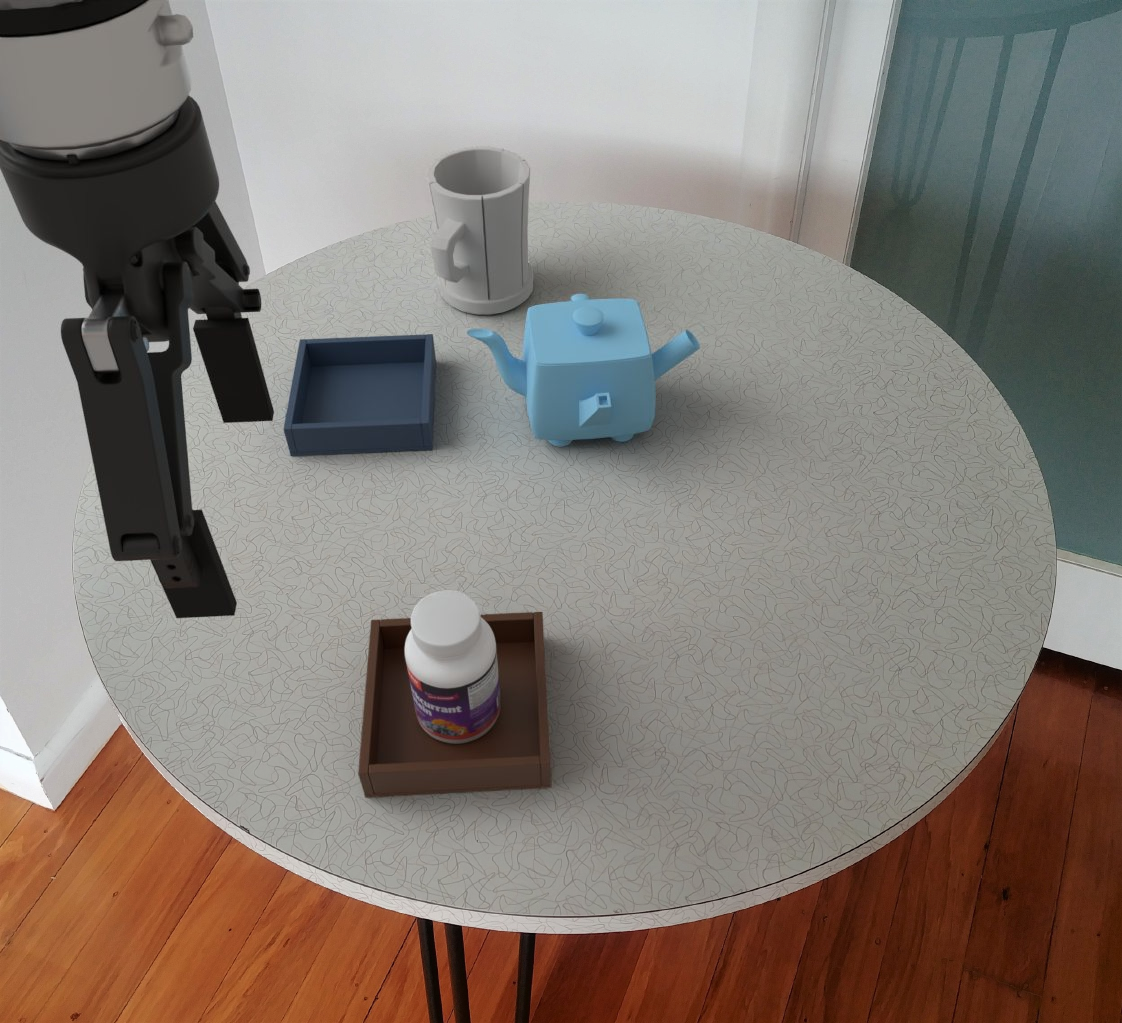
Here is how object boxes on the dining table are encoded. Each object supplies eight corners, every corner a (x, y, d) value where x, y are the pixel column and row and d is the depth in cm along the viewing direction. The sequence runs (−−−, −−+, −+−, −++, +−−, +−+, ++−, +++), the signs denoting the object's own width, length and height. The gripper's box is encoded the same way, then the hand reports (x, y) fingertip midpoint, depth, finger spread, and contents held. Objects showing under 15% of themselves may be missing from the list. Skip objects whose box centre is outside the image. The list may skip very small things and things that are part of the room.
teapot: (679, 358, 92) (688, 259, 84) (712, 472, 82) (726, 371, 75) (471, 374, 90) (462, 274, 83) (480, 491, 81) (470, 390, 74)
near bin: (365, 797, 64) (357, 773, 61) (376, 645, 71) (370, 619, 69) (551, 787, 64) (550, 763, 62) (543, 637, 72) (542, 611, 69)
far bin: (290, 456, 84) (283, 429, 82) (306, 366, 91) (299, 339, 89) (432, 450, 84) (428, 423, 82) (436, 360, 92) (432, 333, 90)
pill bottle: (398, 719, 67) (377, 626, 60) (451, 660, 70) (437, 565, 63) (467, 762, 65) (453, 671, 58) (518, 699, 68) (511, 605, 61)
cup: (541, 324, 95) (538, 205, 86) (440, 333, 94) (426, 213, 86) (528, 258, 102) (524, 142, 93) (434, 266, 101) (421, 149, 93)
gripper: (118, 312, 31) (271, 709, 46) (245, -22, 48) (326, 351, 63) (-146, 322, 31) (97, 718, 46) (77, -17, 47) (199, 356, 63)
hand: (230, 506), depth 55 cm, fingers open, 13 cm apart
